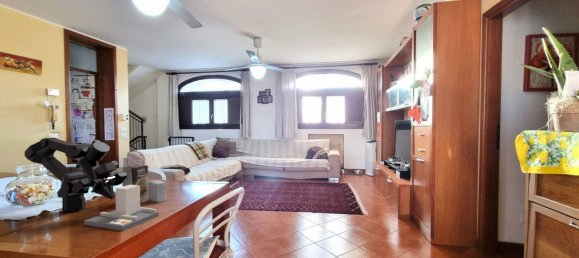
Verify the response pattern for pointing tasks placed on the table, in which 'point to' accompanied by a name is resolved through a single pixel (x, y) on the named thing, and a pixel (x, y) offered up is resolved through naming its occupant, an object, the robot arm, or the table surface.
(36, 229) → the table surface
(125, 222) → the switch board
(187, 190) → the table surface
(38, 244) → the table surface
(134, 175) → the coffee box
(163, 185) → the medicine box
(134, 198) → the toggle
